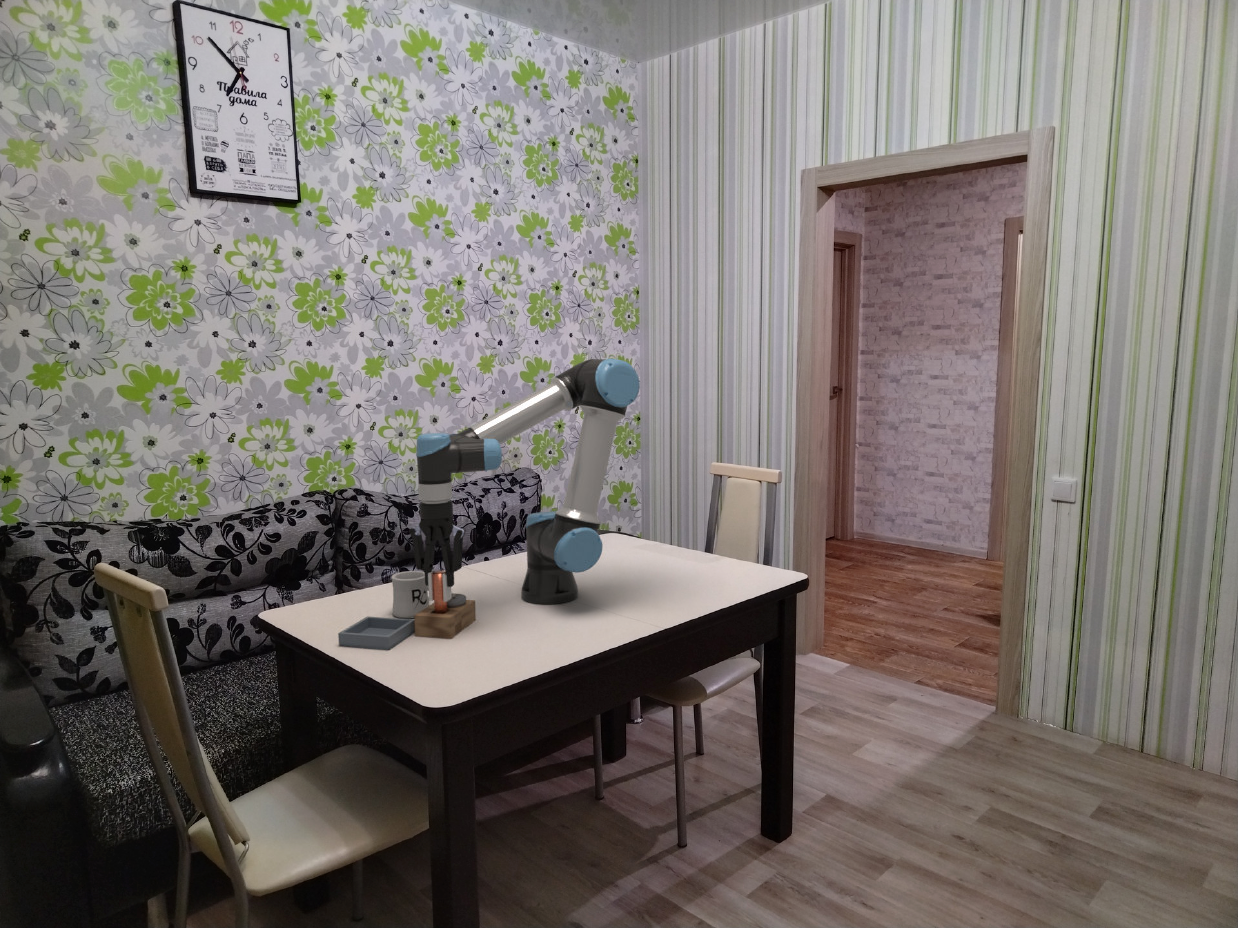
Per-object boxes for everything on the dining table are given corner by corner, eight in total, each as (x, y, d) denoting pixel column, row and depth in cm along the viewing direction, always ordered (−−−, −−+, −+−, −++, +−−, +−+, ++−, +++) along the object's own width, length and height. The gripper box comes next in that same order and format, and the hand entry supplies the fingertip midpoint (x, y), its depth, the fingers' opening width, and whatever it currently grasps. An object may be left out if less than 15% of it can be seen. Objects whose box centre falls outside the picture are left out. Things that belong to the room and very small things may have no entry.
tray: (415, 631, 194) (415, 619, 194) (389, 650, 182) (388, 637, 182) (368, 628, 197) (367, 616, 197) (338, 646, 185) (338, 633, 185)
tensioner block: (475, 620, 203) (474, 591, 202) (451, 638, 189) (450, 607, 188) (441, 617, 205) (440, 589, 204) (415, 636, 192) (413, 605, 191)
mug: (410, 621, 202) (409, 581, 201) (384, 615, 207) (383, 576, 206) (446, 608, 213) (445, 570, 211) (421, 603, 217) (419, 566, 216)
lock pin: (450, 624, 195) (447, 571, 194) (444, 628, 192) (442, 574, 191) (438, 623, 196) (436, 570, 194) (433, 628, 193) (430, 573, 191)
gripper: (474, 498, 192) (478, 596, 195) (411, 496, 196) (416, 593, 199) (461, 504, 185) (465, 606, 188) (396, 502, 189) (401, 602, 192)
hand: (440, 599), depth 193 cm, fingers closed on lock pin, 3 cm apart
